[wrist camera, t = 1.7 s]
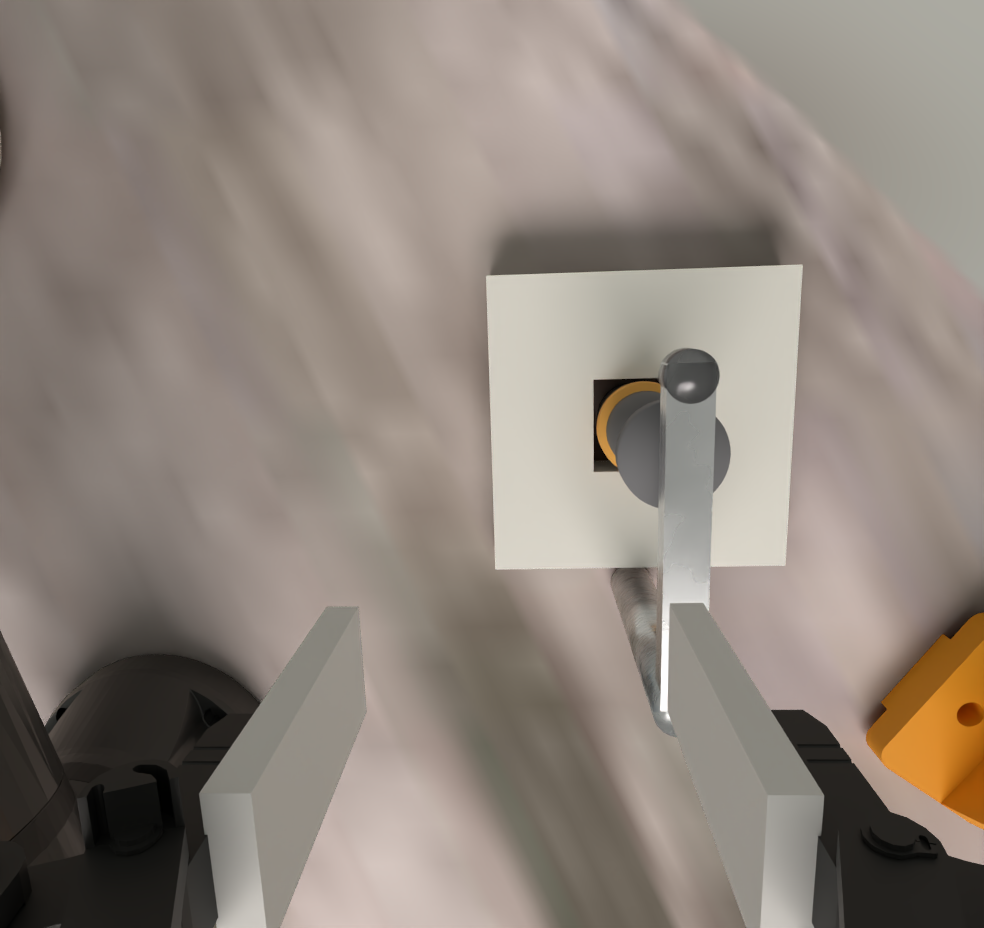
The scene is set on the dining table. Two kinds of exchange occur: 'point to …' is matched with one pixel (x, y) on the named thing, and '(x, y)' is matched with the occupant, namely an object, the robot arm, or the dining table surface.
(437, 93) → the dining table surface
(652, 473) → the plug
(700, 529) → the handle
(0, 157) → the planter
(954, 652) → the bracket
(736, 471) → the socket block
